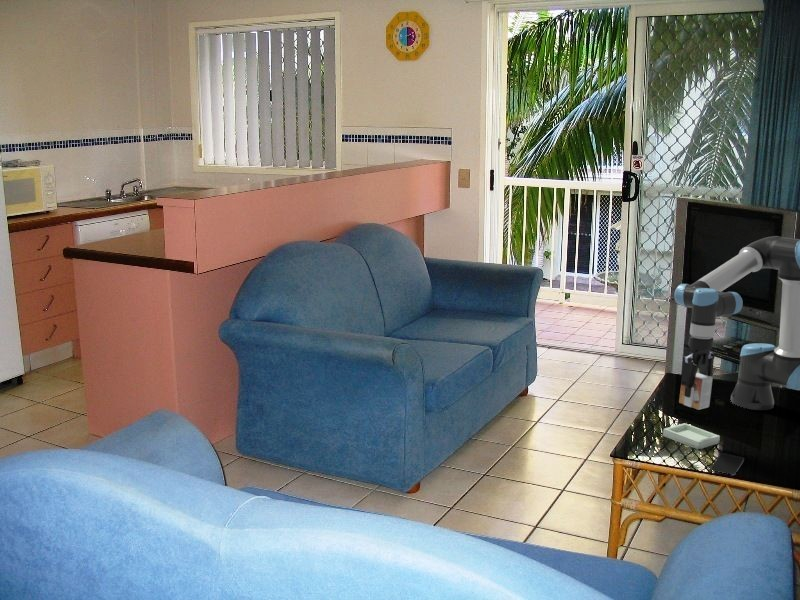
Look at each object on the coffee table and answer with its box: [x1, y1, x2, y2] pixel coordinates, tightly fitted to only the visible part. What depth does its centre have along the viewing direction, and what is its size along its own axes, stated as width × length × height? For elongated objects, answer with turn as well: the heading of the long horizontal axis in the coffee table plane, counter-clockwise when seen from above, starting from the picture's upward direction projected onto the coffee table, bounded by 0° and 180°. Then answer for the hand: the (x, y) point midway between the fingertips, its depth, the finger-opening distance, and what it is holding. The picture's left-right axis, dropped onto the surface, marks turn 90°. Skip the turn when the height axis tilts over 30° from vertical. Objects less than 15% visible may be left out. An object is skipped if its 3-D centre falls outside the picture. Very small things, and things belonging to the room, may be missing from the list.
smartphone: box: [710, 452, 745, 476], centre depth 267 cm, size 7×1×15 cm
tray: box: [662, 422, 721, 450], centre depth 288 cm, size 11×14×2 cm
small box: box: [678, 372, 713, 411], centre depth 285 cm, size 8×6×10 cm
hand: (694, 404), depth 286 cm, fingers closed on small box, 6 cm apart
